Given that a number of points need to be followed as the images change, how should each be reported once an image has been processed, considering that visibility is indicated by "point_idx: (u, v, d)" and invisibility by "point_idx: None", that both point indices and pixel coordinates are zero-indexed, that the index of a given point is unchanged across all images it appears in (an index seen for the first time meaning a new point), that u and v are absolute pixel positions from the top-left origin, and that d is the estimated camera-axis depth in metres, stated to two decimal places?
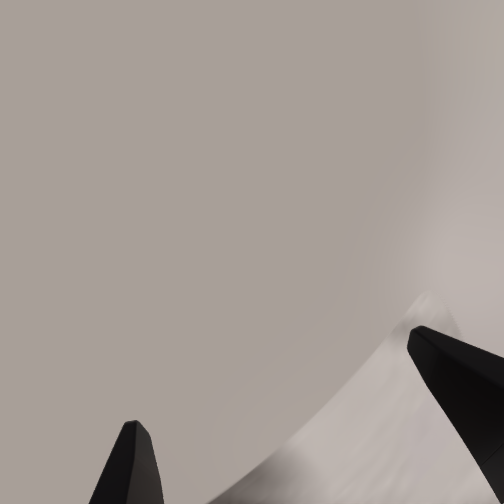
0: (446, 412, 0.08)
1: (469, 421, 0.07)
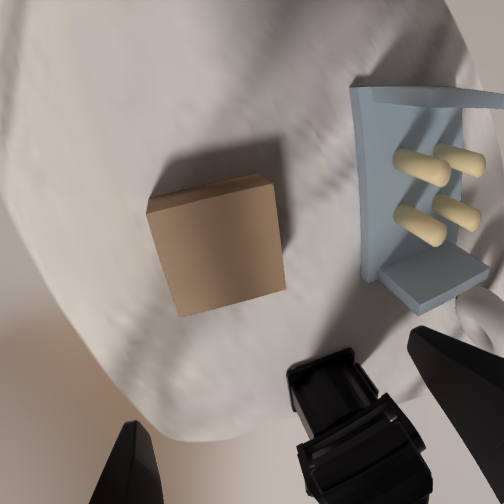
0: (446, 412, 0.08)
1: (469, 421, 0.07)
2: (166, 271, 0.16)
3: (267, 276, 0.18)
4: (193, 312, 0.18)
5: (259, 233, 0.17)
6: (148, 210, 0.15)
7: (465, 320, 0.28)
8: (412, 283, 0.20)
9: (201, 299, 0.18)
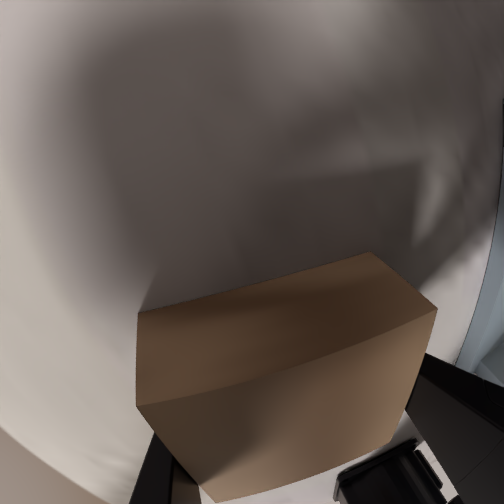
0: (419, 429, 0.08)
1: (442, 440, 0.06)
2: (193, 472, 0.07)
3: (370, 439, 0.08)
4: (239, 496, 0.08)
5: (383, 395, 0.07)
6: (140, 385, 0.05)
7: None
8: None
9: (256, 485, 0.08)
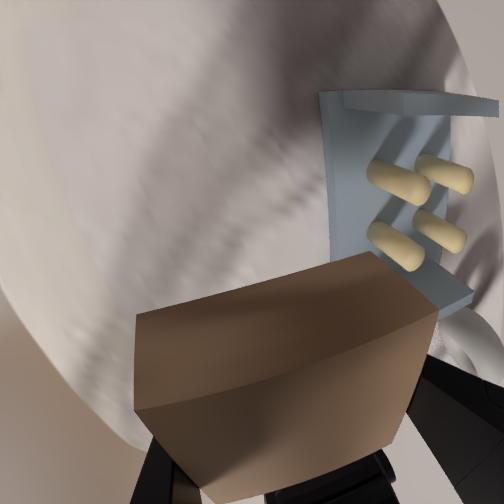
0: (419, 429, 0.08)
1: (441, 441, 0.06)
2: (193, 475, 0.07)
3: (372, 441, 0.08)
4: (240, 498, 0.08)
5: (385, 397, 0.07)
6: (138, 389, 0.05)
7: (448, 341, 0.27)
8: None
9: (257, 488, 0.08)
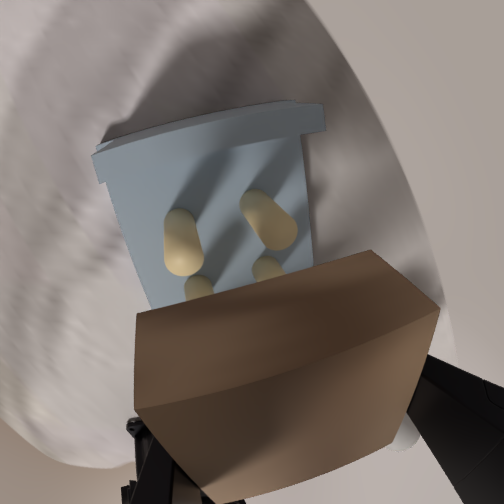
0: (419, 429, 0.08)
1: (441, 441, 0.06)
2: (193, 474, 0.07)
3: (373, 440, 0.08)
4: (241, 498, 0.08)
5: (386, 396, 0.07)
6: (138, 388, 0.05)
7: None
8: None
9: (258, 487, 0.08)
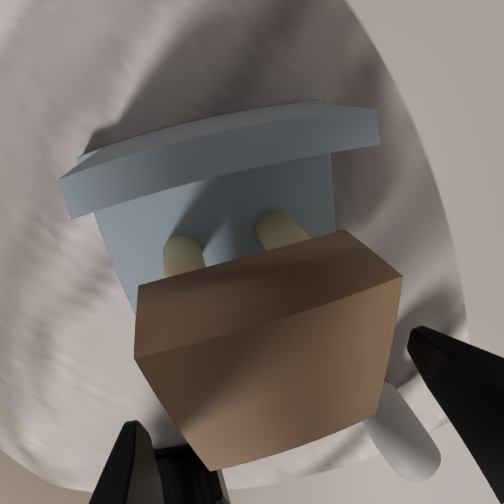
0: (446, 412, 0.08)
1: (469, 421, 0.07)
2: (186, 432, 0.08)
3: (354, 409, 0.10)
4: (232, 464, 0.09)
5: (360, 360, 0.08)
6: (138, 341, 0.07)
7: None
8: None
9: (247, 452, 0.09)
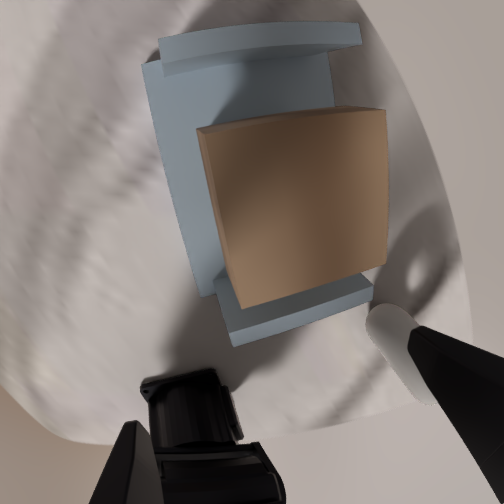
0: (446, 412, 0.08)
1: (469, 421, 0.07)
2: (229, 233, 0.10)
3: (367, 244, 0.12)
4: (263, 300, 0.12)
5: (365, 178, 0.11)
6: (206, 132, 0.09)
7: None
8: None
9: (277, 280, 0.12)
